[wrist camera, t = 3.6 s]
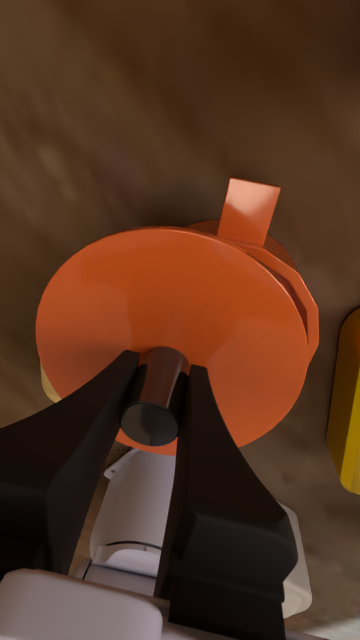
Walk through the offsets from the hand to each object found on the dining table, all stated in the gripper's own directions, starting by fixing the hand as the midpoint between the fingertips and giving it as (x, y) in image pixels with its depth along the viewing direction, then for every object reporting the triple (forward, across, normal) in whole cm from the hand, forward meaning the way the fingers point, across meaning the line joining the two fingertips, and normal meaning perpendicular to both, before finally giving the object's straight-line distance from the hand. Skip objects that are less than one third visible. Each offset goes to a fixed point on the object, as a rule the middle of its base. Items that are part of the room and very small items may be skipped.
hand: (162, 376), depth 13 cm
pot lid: (+1, 0, 0) cm, 1 cm away
